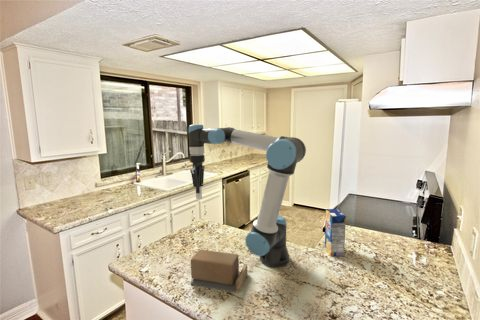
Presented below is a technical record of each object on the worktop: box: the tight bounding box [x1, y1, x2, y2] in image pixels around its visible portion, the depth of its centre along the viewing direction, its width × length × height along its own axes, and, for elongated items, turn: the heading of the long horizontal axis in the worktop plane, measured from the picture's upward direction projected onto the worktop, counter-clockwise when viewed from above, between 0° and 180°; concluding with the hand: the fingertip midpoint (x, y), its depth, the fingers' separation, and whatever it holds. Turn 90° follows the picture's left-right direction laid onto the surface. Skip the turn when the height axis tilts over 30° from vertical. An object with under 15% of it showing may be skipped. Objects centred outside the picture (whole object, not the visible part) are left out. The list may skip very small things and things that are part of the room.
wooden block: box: [190, 249, 240, 285], centre depth 119 cm, size 10×10×20 cm
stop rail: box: [236, 263, 248, 293], centre depth 116 cm, size 1×14×5 cm, turn 164°
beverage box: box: [324, 208, 347, 257], centre depth 141 cm, size 7×11×22 cm, turn 179°
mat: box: [190, 270, 241, 293], centre depth 119 cm, size 21×14×1 cm, turn 74°
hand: (199, 198), depth 140 cm, fingers closed
